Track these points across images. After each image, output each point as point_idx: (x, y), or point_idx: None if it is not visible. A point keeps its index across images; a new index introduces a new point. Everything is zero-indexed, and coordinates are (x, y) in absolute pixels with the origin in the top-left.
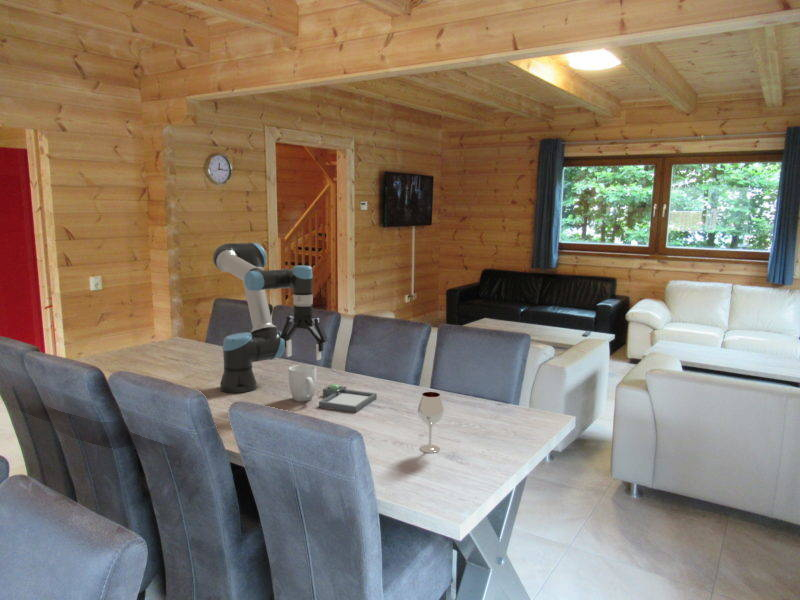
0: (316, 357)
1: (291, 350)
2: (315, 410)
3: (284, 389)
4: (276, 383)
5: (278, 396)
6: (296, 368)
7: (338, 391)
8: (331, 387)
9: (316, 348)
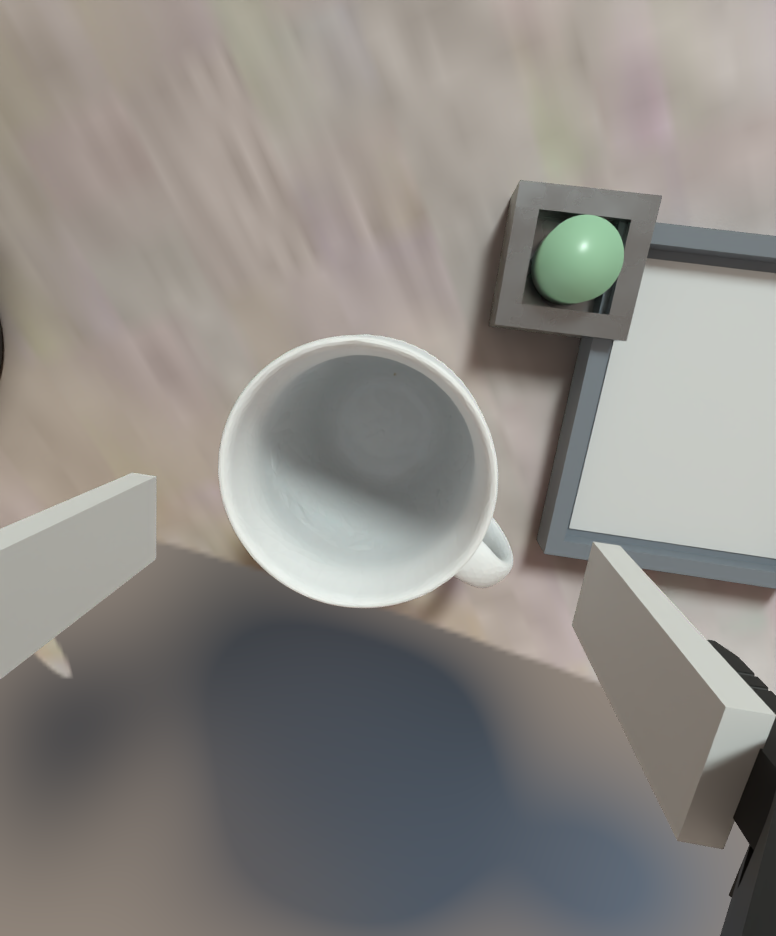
0: (584, 645)
1: (109, 502)
2: (534, 592)
3: (170, 251)
4: (35, 116)
5: (216, 411)
6: (260, 405)
7: (627, 335)
8: (563, 300)
9: (639, 750)
